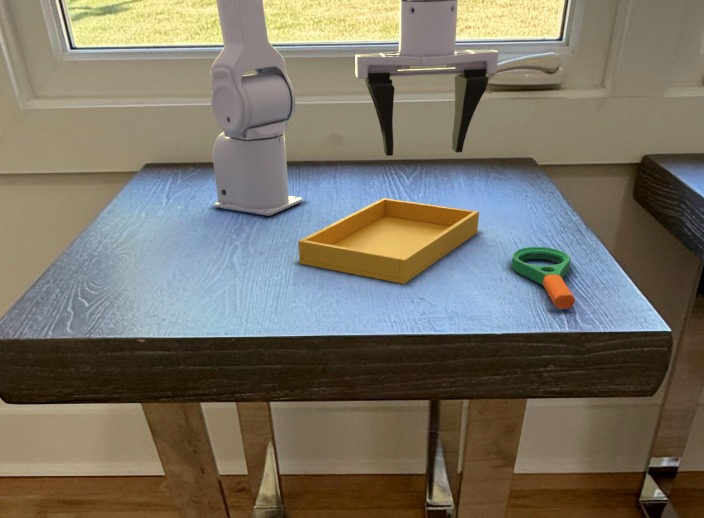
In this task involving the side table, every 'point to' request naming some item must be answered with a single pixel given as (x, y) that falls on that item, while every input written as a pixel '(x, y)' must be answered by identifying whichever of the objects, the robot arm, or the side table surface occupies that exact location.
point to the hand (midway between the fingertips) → (422, 152)
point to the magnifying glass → (546, 272)
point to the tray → (389, 239)
